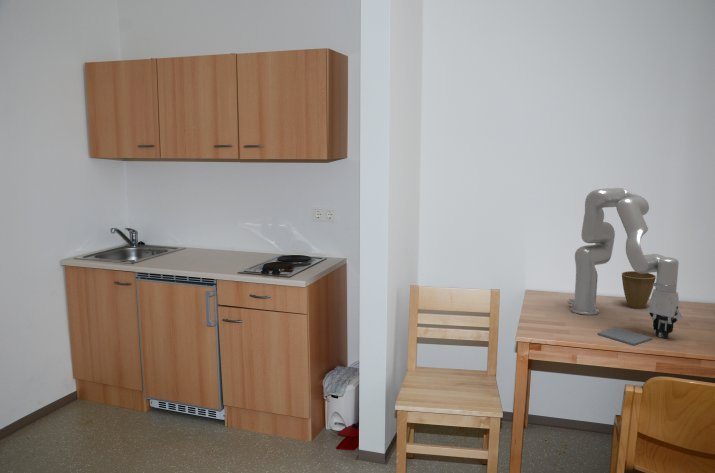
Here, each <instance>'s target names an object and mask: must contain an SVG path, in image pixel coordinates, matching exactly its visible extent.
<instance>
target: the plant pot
mask: <svg viewBox="0 0 715 473" xmlns="http://www.w3.org/2000/svg"><path fill="white" fill-rule="evenodd" d="M656 277H657V275H655V274H654V273H644V274H640V273H637V272H636V271H634V270H631V271H630V270H629V271H623V272H622V273H621V279H622V280H621V281H622V288H623V293H624V296H625V298H624V299H625V301H626V304H627V307H629V308H633V309H645V307H646V305H647V303H648V301H649V299H650V298H651V296H652V292H653V290H654V286H653V283H656Z"/></svg>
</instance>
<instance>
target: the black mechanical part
mask: <svg viewBox="0 0 715 473" xmlns="http://www.w3.org/2000/svg"><path fill="white" fill-rule="evenodd" d="M657 319H659V325H658V329H656V330H654V329H653V330H652V331H653V332H652V334H655V336H657V337H658V338H659V337H660V338H664V339H669V336H670V333H666V330H667V324H668V323H669V322H668V317H665V316H661V315H657Z"/></svg>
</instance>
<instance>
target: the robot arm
mask: <svg viewBox="0 0 715 473" xmlns="http://www.w3.org/2000/svg"><path fill="white" fill-rule="evenodd" d="M603 208H604V209H605V208H615V209H616V211H617V214H618V217H619V218H620V221H621V223H622V226H623V228H624V231H625V233H626V235H627V237H626V240H625V241H626V242H625V254H626V257H627V259H628V262H629V264H630V266H631V268H632V270H633V271H636V272H637V273H640V274H644V273H650V274H652V273H656V278H655V282H654V283H653V287H655V289H654V288H653V289H652V292H651V295H650V302H649V306H648V307H647V308H646V309H645V310H646V312H647V313H648V314H649V316H650V317H651V319H652V320H653V323H652V327H653V330H655V331H656V329H658V325H659V319H657V315H661V316H665V317H668V324H667V330H666V333H669V334H671V333H672V332H673V331H674V324H675V323H676V322H678V321H679V320H682V319H683V318H684V317H683V316H682V314H681V312H680V300H679V298H680V297H679V292H677V290H678V289H677V288H678V287H677V285H678V276H679V264H680V263H679V260H678V259H677V258H675V257H667V256H664V255H661V254H657V253H651V254H644V253H643V250H642V247H641V241H642V237H643V236H644V235H646V233H647V232H648V231H649V227H648V225H647V223H646V221H645V218H644V216H645V215H646V214H648V212H649V210H650V205H649V202H648V200H646V198H644V197H643V196H641V195H639V194H637V193H634V192H632V191H630V190H628V189H625V188H622V187H621V188H619V187H612V188H611V187H609V188H608V187H607V188H597V189H595V190H592V191H590V192H589V193H588V194H587V195H586V198H585V203H584V217H583V221H582V229H581V239H582V241H583V242H584V243H586V244H587V245H582V246H580V247H578V248H577V249H576V251H575V253H574V261H575V262H574V263H575V284H574V285H575V286H574V299H573V298H569V299H568V301H567V303H568V304H569V305H571V307H570V309H569V310H570V311H571V312H573V313H574V314H579V315H587V316H588V315H589V316H591V315H592V316H593V315H598V314H599V313H600V309H599V308H597V306H596V305H597V290H598V271H597V268H596V266H599V265H603V264H607V263H608V262H610V260H611V258H612V255H613V249H614V242H615V237H616V234H615V232H616V231H615V228H614V227H613V225H612V224H611V223H609V222H607V221H604V219H605V211H604V209H603Z"/></svg>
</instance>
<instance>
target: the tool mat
mask: <svg viewBox="0 0 715 473" xmlns="http://www.w3.org/2000/svg"><path fill="white" fill-rule="evenodd" d="M597 336H601V337H604V338H607V339H611V340H614V341H617V342H621V343H624V344H627V345H630V346H638V345H640V344H643V343H646V342H649V341H651V340H653V337H652V336H648V335H644V334H640V333H637V332H634V331H630V330H627V329H623V328H619V327H613V328H611V329H606V330H603V331H600V332H599V331H598V332H597Z"/></svg>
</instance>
